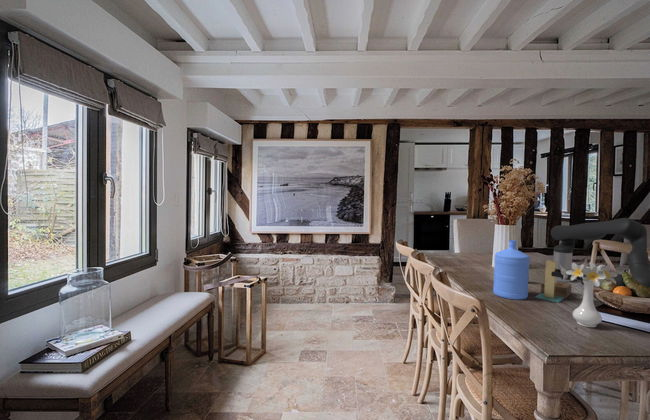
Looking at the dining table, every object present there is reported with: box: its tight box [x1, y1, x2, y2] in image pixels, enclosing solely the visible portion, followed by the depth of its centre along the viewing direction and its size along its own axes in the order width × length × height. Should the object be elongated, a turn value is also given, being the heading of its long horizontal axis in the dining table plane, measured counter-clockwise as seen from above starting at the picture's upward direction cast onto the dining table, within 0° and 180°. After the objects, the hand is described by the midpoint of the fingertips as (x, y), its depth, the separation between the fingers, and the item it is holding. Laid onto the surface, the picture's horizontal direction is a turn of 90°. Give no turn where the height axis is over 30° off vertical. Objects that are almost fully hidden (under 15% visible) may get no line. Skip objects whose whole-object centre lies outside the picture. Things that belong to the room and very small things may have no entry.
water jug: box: [492, 239, 531, 301], centre depth 174 cm, size 16×16×28 cm
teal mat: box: [535, 292, 565, 304], centre depth 171 cm, size 10×10×1 cm
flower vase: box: [560, 261, 618, 328], centre depth 136 cm, size 13×18×25 cm
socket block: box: [540, 281, 572, 299], centre depth 179 cm, size 11×11×5 cm
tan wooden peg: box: [544, 259, 558, 299], centre depth 171 cm, size 4×4×18 cm
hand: (554, 272), depth 169 cm, fingers open, 8 cm apart
